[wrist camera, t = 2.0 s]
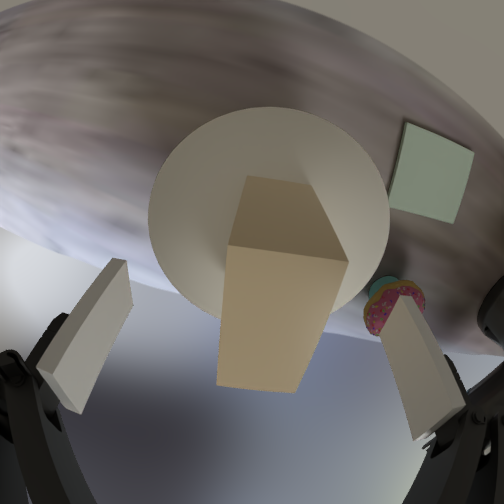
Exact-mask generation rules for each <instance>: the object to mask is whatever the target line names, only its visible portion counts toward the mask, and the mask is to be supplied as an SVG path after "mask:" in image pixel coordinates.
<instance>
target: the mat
mask: <svg viewBox="0 0 504 504" xmlns="http://www.w3.org/2000/svg"><path fill="white" fill-rule="evenodd" d="M473 158H474V152H472V151H470V150H468V149H466V148H464V147H462V146H460V145H458V144H456V143H454V142H452V141H450V140H448V139H446V138H443V137H441V136H439V135H437V134H434V133H432V132H430V131H427V130H425V129H423V128H420V127H418V126H415V125H412V124H410V123H407V122H405V125H404V130H403V135H402V139H401V144H400V148H399V153H398V157H397V161H396V165H395V169H394V173H393V177H392V180H391V184H390V188H389V191H388V195H387V196H388V202H389V207H390V208H394V209H398V210H403V211H407V212H410V213H414V214H418V215H422V216H426V217H429V218H433V219H437V220H440V221H444V222H447V223H451V224H453V223H454V220H455V218H456V215H457V212H458V209H459V206H460V203H461V200H462V197H463V194H464V191H465V187H466V184H467V181H468V177H469V173H470V170H471V166H472V162H473Z"/></svg>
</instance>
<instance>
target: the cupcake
mask: <svg viewBox="0 0 504 504" xmlns="http://www.w3.org/2000/svg"><path fill="white" fill-rule="evenodd" d="M400 295H402V296H412V298H413V299H414V301H415V303H416V305H417V306H418V308H419V310H420V311H421V313H423V310H424V309H425V299H424V294H423V292H422V290H421V289H420V288H419V287H418V286H417V285H416V284H415V283H414V282H413V281H410V280H398V279H397V278H395V277H393V276H385V277H382V278H380V279H378V280H377V281H375V282H374V283H373V285H372V286H371V288H370V290H369V301H368V302H367V304H366V305H365V308H364V316H363V318H364V322H365V324H366V328H367V329H368V331H369V332H370V334H373V335H375V336H379V334H380V332H381V330H382V328H383V327H384V325H385V323H386V321H387V319H388V317H389V316H390V314H391V312H392V310H393V308H394V306H395V304H396V302H397V300H398V298H399V296H400Z"/></svg>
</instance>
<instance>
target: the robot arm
mask: <svg viewBox="0 0 504 504" xmlns="http://www.w3.org/2000/svg"><path fill="white" fill-rule="evenodd" d="M132 307H133V301H132V295H131V288H130V282H129V275H128V268H127V260H122V259H116V258H112V259H111V260H110V262H109V263H108V264H107V265H106V267H105V268H104V269H103V270H102V272H101V273H100V274H99V276H98V277H97V278H96V279H95V281H94V282H93V283H92V285H91V286H90V287H89V289H88V290H87V291H86V292H85V294H84V295H83V296H82V298H81V299H80V301H79V302H78V303H77V305H76V306H75V307H74V309H73V310H72V312H71V313H70V315H69V314H66V313H61V314H60V315H58V316H57V317H56V318H54V319H53V321H52V322H51V323H50V325H49V326H48V328H47V330H45V332H44V333H43V335H42V337H41V338H40V339H39V341H38V342H37V344H36V345H35V347H34V348H33V350H32V351H31V353H30V355H29V356H28V358H27V359H26V361H25V362H24V360H23V359H22V357H21V355H20V354H19V353H18V352H17V351H15V350H6V351H4V352H1V353H0V504H29V503H28V497H27V492H26V487H27V491H28V493H29V496H30V499H31V501H32V503H33V504H97V503H96V501H95V499H94V497H93V495H92V493H91V491H90V489H89V487H88V485H87V483H86V481H85V479H84V476H83V474H82V472H81V470H80V467H79V465H78V463H77V460H76V458H75V455H74V453H73V450H72V447H71V445H70V442H69V439H68V436H67V433H66V431H65V427H64V424H63V421H62V418H61V414H60V411H59V409H58V407H57V406H58V404H59V402H61V403H62V404H63V405H64V407H65V408H67V409H69V410H72V411H74V412H76V413H78V414H82V411H83V409H84V407H85V404H86V402H87V400H88V397H89V395H90V393H91V390H92V388H93V386H94V384H95V381H96V379H97V377H98V375H99V373H100V371H101V368H102V366H103V364H104V362H105V360H106V358H107V356H108V354H109V352H110V350H111V348H112V346H113V344H114V342H115V340H116V338H117V336H118V334H119V332H120V330H121V328H122V326H123V324H124V322H125V320H126V318H127V316H128V314H129V313H130V311H131V309H132ZM478 326H479V328H480V329H481V331H482V332H483V334H484V335H485V336H487V337H488V338H489V339H491V340H492V341H494V342H495V343H496V344H498V345H499V346H500V347H502V348H503V350H504V276H503V277H502V278H501V279H500V280H499V281H498V282H497V283H496V285H495V286H494V287H493V288H492V290H491V291H490V292H489V294H488V295H487V297H486V299H485V300H484V302H483V304H482V306H481V309H480V311H479V314H478ZM379 336H380V338H381V341H382V344H383V346H384V349H385V352H386V354H387V357H388V360H389V363H390V366H391V369H392V371H393V374H394V378H395V381H396V384H397V386H398V390H399V393H400V396H401V399H402V403H403V406H404V409H405V413H406V416H407V420H408V423H409V427H410V430H411V434H412V438H413V441H417V440H421V439H425V438H427V437H429V436H430V435H431V434H432V433H434V432H435V434H436V437H434V438H433V439H432V440H430V441H429V442H428V443H427V444H425V445H424V446H423V447H422V449H425V448H426V447H428V446H429V445H430V447H429V448H428V449H427V450H426V451H427V454H426V457H425V459H424V461H423V463H422V466H421V468H420V470H419V472H418V474H417V477H416V479H415V480H414V482H413V485H412V486H411V488H410V491H409V492H408V494H407V496H406V498H405V499H404V501H403V503H402V504H504V361H503V362H502V363H501V364H500V365H499V366H498V367H497V368H495V369H494V370H493V371H492V372H491V373H490V374H488V376H486V377H485V378H484V379H482V380H481V381H480V382H479V383H478V384H476V385H475V386H473V387H472V388H470V389H469V390H467V391H466V390H465V387H464V385H463V383H462V381H461V380H460V376H459V374H458V373H457V370H456V368H455V366H454V364H453V362H452V361H451V360H450V358H449V357H448V356H447V355H445V354H444V355H443V353H442V351H441V349H440V347H439V345H438V343H437V341H436V339H435V337H434V335H433V333H432V331H431V329H430V328H429V326H428V324H427V322H426V320H425V319H424V317H423V315H422V313H421V311H420V310H419V308H418V306H417V305H416V303H415V301H414V299H413V298H412V296H402V295H400V296H399V298H398V300H397V302H396V304H395V306H394V308H393V310H392V312H391V314H390V316H389V317H388V319H387V321H386V323H385V325H384V327H383V328H382V330H381V332H380V334H379Z"/></svg>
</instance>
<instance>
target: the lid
mask: <svg viewBox="0 0 504 504" xmlns="http://www.w3.org/2000/svg"><path fill="white" fill-rule="evenodd" d="M148 226H149V235H150V240H151V244H152V247H153V251H154V253H155V256H156V258H157V261H158V263H159V265H160V267H161V268H162V270H163V272H164V274H165V275H166V277H167V278H168V279H169V281H170V282H171V283H172V285H173V286H174V287H175V288H176V289H177V290H178V291H179V292H180V293H181V294H182V295H183V296H184V297H185V298H186V299H188V300H189V301H190V302H191V303H192V304H194V305H195V306H197V307H198V308H200V309H201V310H203V311H204V312H206V313H208V314H210V315H212V316H214V317H216V318H219V319H221V327H220V341H219V355H218V370H217V385H219V386H226V387H233V388H242V389H251V390H261V391H273V392H287V393H295V392H296V389H297V387H298V385H299V383H300V381H301V379H302V377H303V375H304V373H305V371H306V369H307V366H308V364H309V362H310V359H311V358H312V355H313V353H314V351H315V349H316V346H317V344H318V342H319V339H320V336H321V334H322V332H323V330H324V327H325V325H326V322H327V320H328V318H329V315H330V314H331V313H333V312H334V311H336V310H338V309H339V308H341V307H342V306H344V305H345V304H346V303H348V302H349V301H350V300H351V299H353V298H354V297H355V296H356V295H357V294H358V293H359V292H360V291H361V290H362V289H363V288H364V286H365V285H366V284H367V283H368V281H369V280H370V279H371V277H372V276H373V274H374V272H375V271H376V269H377V268H378V266H379V263H380V261H381V259H382V257H383V254H384V251H385V248H386V245H387V241H388V235H389V228H390V209H389V202H388V196H387V192H386V189H385V185H384V182H383V180H382V178H381V176H380V173H379V171H378V169H377V167H376V166H375V164H374V162H373V161H372V159H371V158H370V156H369V155H368V154H367V152H366V151H365V150H364V149H363V148H362V147H361V146H360V145H359V143H358V142H357V141H356V140H355V139H353V138H352V137H351V136H350V135H349V134H347V133H346V132H345V131H344V130H342V129H341V128H339V127H337V126H336V125H334V124H332V123H331V122H329V121H327V120H325V119H323V118H320V117H318V116H316V115H313V114H311V113H307V112H303V111H299V110H295V109H291V108H282V107H255V108H248V109H243V110H238V111H234V112H231V113H228V114H225V115H222V116H220V117H217V118H215V119H213V120H211V121H209V122H207V123H206V124H204V125H202V126H200V127H199V128H197V129H196V130H195V131H193V132H192V133H191V134H189V135H188V136H187V137H185V138H184V139H183V140H182V141H181V142H180V143H179V145H178V146H177V147H176V148H175V149H174V150H173V151H172V152H171V154H170V155H169V156H168V158H167V159H166V161H165V162H164V164H163V165H162V167H161V169H160V171H159V173H158V175H157V177H156V180H155V183H154V186H153V189H152V192H151V196H150V202H149V209H148Z"/></svg>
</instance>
